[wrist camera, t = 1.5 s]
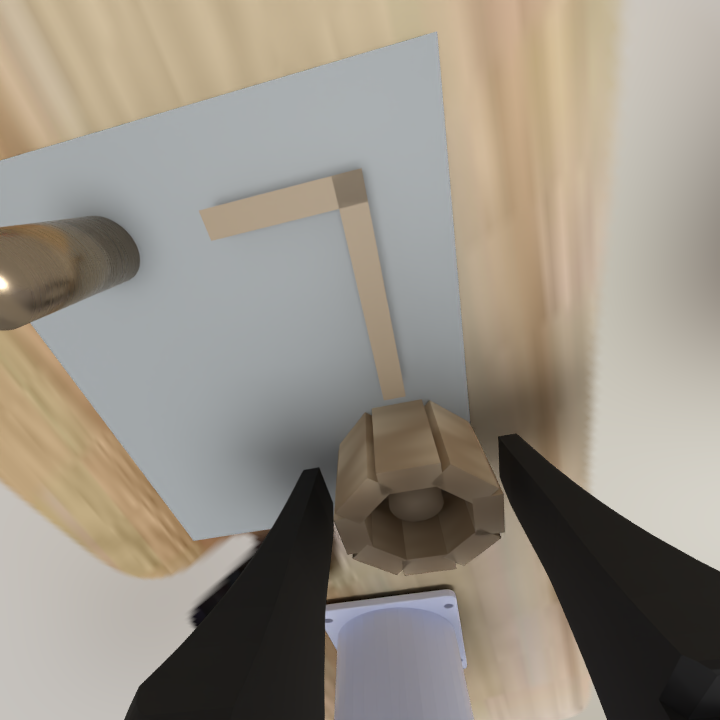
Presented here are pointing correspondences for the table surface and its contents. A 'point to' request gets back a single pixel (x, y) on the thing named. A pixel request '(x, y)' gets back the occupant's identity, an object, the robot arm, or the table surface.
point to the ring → (412, 472)
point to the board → (263, 279)
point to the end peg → (60, 265)
